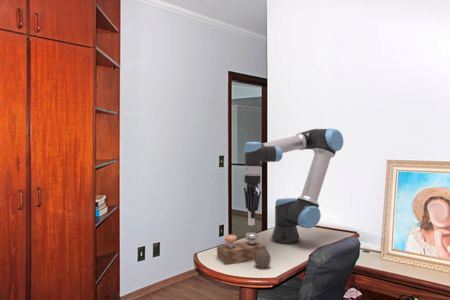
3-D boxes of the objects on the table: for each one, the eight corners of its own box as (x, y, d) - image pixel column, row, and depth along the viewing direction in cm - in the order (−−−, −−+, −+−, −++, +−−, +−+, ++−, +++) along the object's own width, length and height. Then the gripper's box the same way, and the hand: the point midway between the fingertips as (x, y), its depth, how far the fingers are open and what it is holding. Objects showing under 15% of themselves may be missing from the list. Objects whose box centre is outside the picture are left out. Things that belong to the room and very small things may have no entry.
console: (254, 252, 178) (254, 240, 178) (265, 258, 169) (265, 246, 169) (217, 257, 170) (217, 245, 170) (226, 264, 161) (226, 251, 161)
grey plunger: (253, 245, 175) (254, 231, 175) (259, 248, 170) (259, 234, 170) (243, 246, 173) (243, 232, 173) (249, 249, 168) (249, 235, 168)
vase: (271, 269, 156) (272, 249, 156) (255, 269, 155) (256, 249, 155) (268, 263, 163) (269, 244, 162) (253, 264, 162) (253, 244, 162)
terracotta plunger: (233, 247, 171) (233, 234, 170) (238, 251, 166) (238, 237, 165) (222, 249, 168) (222, 235, 168) (227, 252, 163) (227, 238, 163)
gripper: (239, 173, 175) (238, 222, 175) (252, 176, 163) (250, 228, 163) (252, 173, 178) (251, 221, 178) (266, 176, 166) (265, 227, 167)
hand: (251, 224), depth 171 cm, fingers closed
